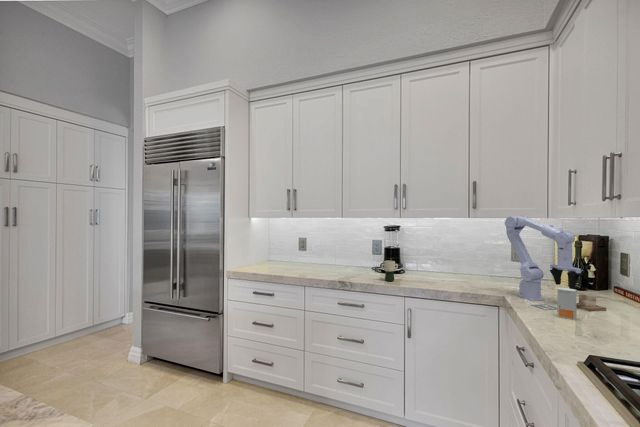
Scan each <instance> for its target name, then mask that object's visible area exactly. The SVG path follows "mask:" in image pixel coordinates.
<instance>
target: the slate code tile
mask: <svg viewBox="0 0 640 427" xmlns="http://www.w3.org/2000/svg"><path fill="white" fill-rule="evenodd" d="M530 306H531V307H535V308H537V309H540V310H543V311H557V306H554V305H550V304H547V303H546V304H530Z"/></svg>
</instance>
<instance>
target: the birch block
mask: <svg viewBox="0 0 640 427" xmlns="http://www.w3.org/2000/svg"><path fill="white" fill-rule="evenodd" d="M578 303H579V305H582V306H585V307H595V306H596V305H597V295H595V294H593V293H592V294H591V293H588V292H587V293H578Z"/></svg>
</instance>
